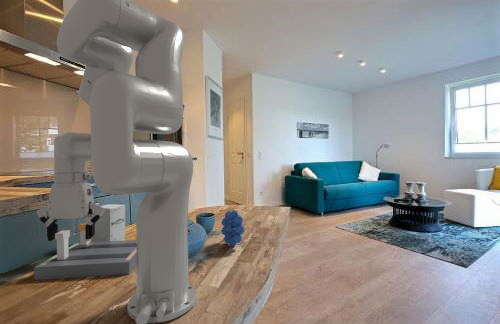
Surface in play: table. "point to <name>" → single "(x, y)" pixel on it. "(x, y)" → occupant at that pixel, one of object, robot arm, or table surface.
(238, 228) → the grapes
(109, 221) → the supplement box
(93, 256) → the switch panel
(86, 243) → the lever
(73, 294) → the table surface
